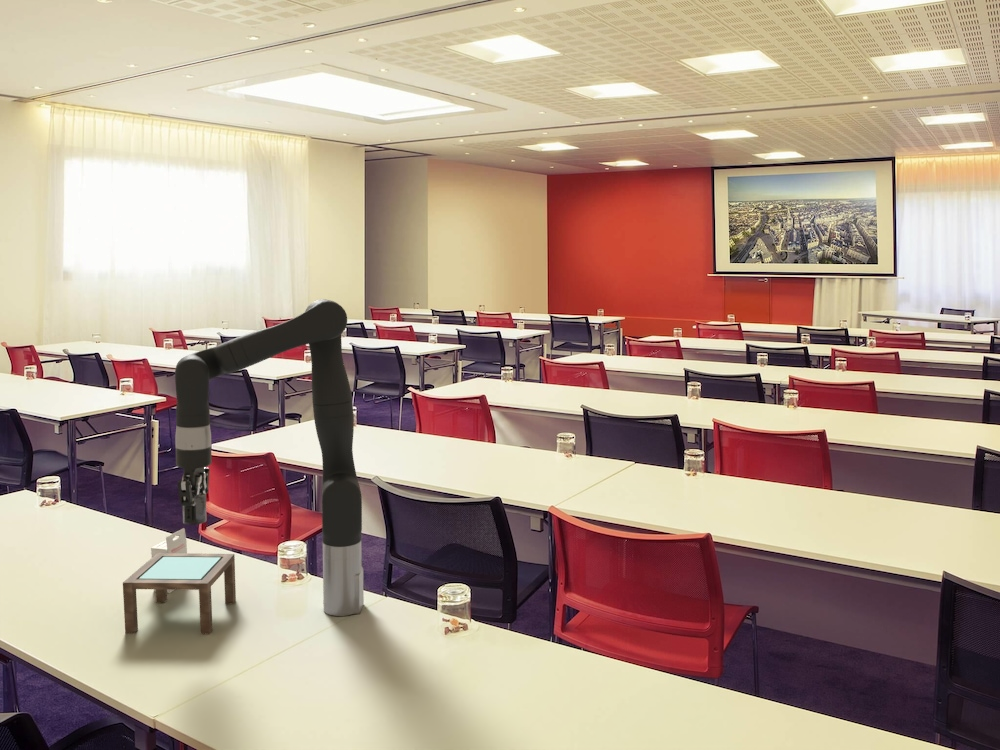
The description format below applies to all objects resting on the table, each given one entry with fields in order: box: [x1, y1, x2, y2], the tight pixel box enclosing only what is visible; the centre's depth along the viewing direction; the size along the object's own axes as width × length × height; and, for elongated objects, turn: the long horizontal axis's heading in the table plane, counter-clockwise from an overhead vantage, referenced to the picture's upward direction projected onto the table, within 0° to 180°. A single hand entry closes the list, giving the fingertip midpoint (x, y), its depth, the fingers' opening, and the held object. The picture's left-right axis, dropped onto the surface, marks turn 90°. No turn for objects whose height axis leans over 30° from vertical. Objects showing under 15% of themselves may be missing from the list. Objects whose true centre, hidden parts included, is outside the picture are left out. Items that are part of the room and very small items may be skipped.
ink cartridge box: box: [150, 527, 188, 594], centre depth 211 cm, size 9×5×15 cm, turn 168°
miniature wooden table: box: [122, 552, 237, 635], centre depth 194 cm, size 19×19×12 cm
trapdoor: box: [139, 557, 221, 580], centre depth 193 cm, size 14×14×1 cm
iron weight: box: [182, 493, 208, 526], centre depth 185 cm, size 5×5×6 cm
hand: (194, 518), depth 185 cm, fingers closed on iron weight, 5 cm apart
